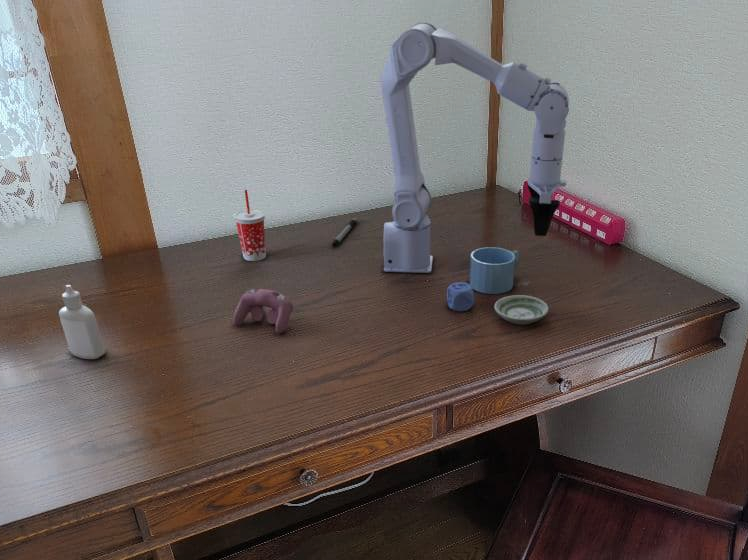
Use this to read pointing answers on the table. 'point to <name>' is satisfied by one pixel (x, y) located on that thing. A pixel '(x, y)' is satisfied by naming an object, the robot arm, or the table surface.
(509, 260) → the mug
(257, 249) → the beverage cup
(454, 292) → the decorative dice
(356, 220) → the pen
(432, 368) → the table surface
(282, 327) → the video game controller
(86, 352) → the eye dropper bottle
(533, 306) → the saucer
